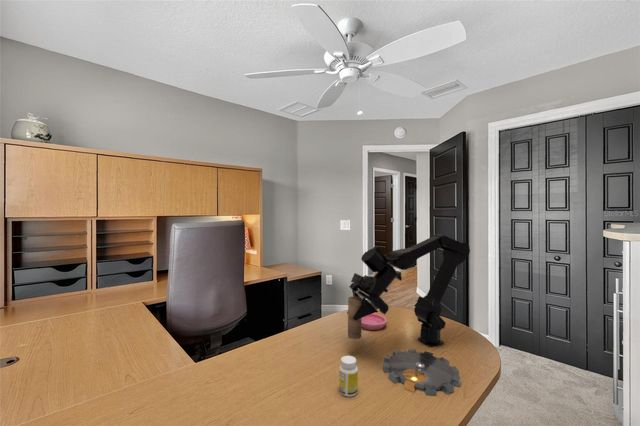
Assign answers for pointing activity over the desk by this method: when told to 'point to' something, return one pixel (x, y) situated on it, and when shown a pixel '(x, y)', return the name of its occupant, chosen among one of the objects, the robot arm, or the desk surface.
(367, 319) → the saucer
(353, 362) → the supplement bottle
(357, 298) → the pin
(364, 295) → the robot arm
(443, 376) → the sprocket plate
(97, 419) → the desk surface
